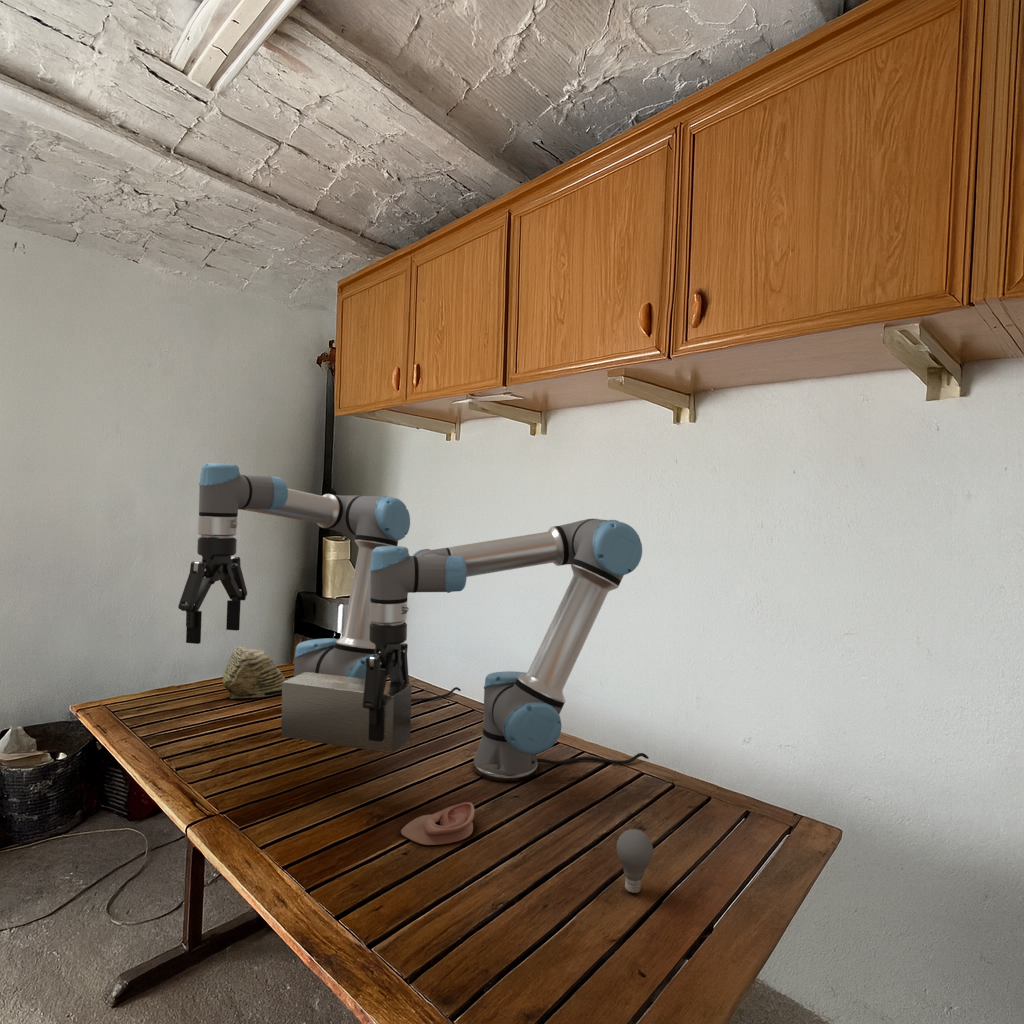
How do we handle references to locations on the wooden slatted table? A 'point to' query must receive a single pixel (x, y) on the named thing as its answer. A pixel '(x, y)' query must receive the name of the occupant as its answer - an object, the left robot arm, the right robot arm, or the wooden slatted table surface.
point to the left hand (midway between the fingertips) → (214, 636)
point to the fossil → (252, 674)
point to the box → (343, 712)
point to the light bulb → (634, 857)
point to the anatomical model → (442, 825)
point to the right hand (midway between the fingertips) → (386, 732)
